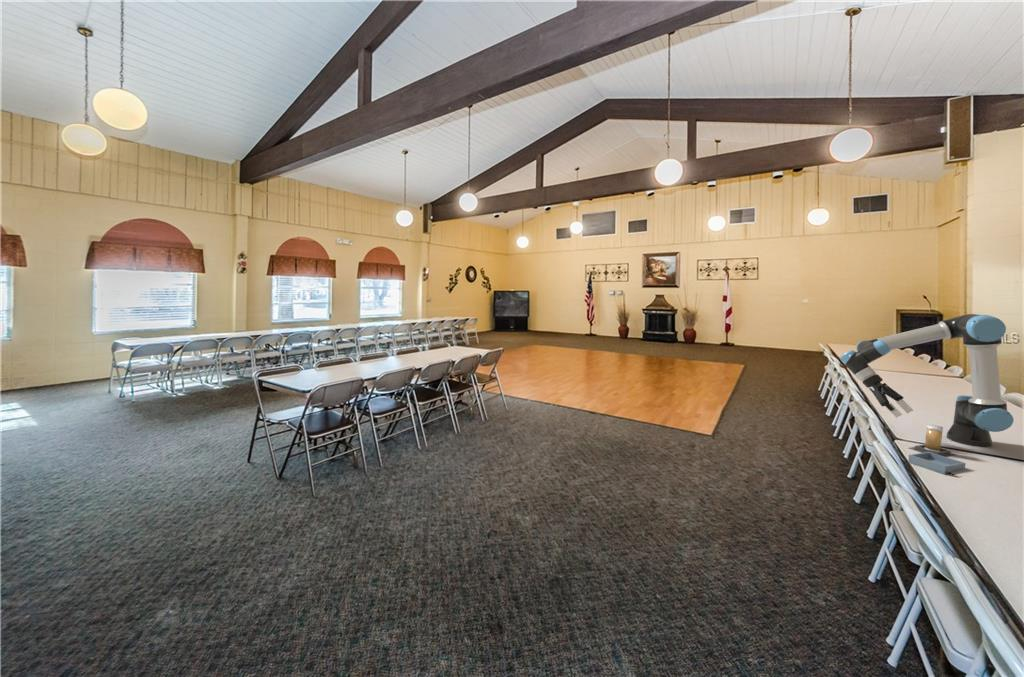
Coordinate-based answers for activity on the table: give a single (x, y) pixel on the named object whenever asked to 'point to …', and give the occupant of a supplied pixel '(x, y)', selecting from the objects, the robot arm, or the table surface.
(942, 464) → the parts tray
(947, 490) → the table surface
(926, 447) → the ball
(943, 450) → the block
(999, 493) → the table surface
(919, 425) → the table surface
